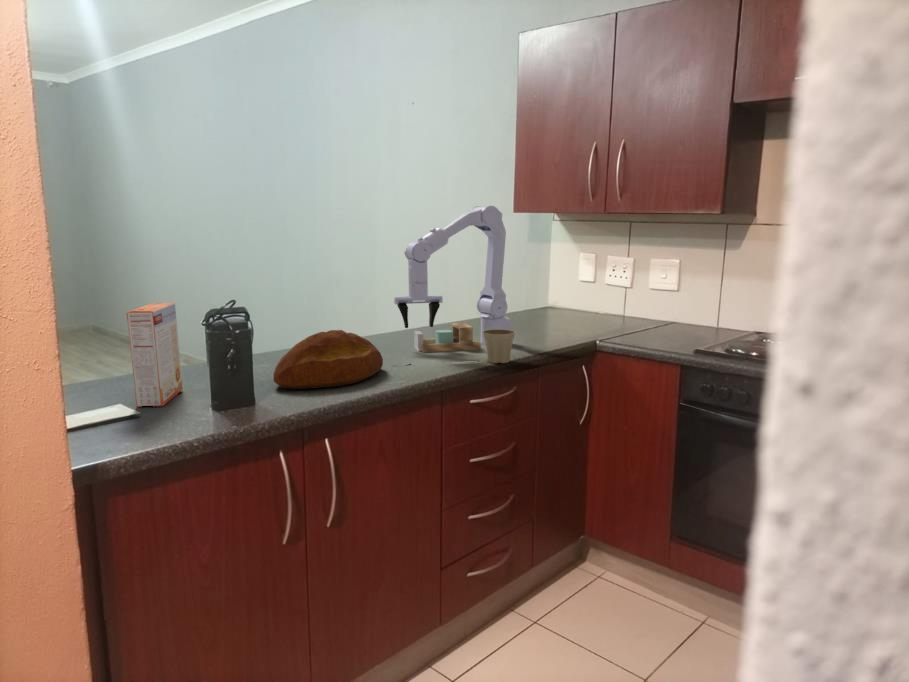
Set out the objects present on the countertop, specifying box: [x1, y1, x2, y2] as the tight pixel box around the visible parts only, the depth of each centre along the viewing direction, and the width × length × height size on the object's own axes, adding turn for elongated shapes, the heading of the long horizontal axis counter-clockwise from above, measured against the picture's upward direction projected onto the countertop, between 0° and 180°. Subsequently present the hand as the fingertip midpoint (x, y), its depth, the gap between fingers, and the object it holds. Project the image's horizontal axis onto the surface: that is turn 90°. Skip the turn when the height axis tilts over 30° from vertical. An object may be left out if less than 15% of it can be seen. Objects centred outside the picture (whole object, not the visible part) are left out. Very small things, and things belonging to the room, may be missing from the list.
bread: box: [273, 329, 384, 390], centre depth 165 cm, size 21×33×12 cm, turn 137°
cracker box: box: [126, 302, 184, 408], centre depth 145 cm, size 14×6×21 cm, turn 5°
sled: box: [413, 330, 454, 352], centre depth 202 cm, size 12×7×5 cm, turn 104°
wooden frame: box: [421, 322, 482, 353], centre depth 203 cm, size 18×10×8 cm, turn 104°
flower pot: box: [483, 329, 517, 364], centre depth 186 cm, size 9×9×9 cm
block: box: [434, 329, 453, 344], centre depth 202 cm, size 4×4×4 cm
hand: (418, 327), depth 200 cm, fingers open, 7 cm apart
